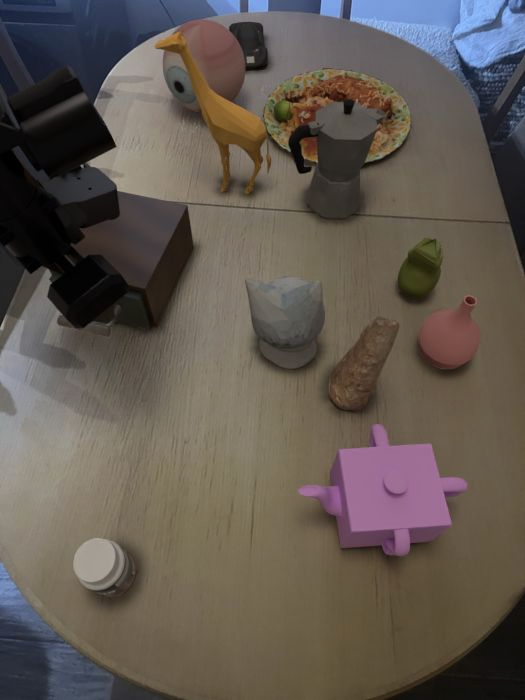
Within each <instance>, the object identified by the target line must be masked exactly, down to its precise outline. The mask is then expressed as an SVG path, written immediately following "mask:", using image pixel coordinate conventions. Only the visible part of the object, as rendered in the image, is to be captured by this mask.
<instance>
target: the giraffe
mask: <svg viewBox="0 0 525 700" xmlns="http://www.w3.org/2000/svg"><path fill="white" fill-rule="evenodd" d="M182 32H183V29H182V30H181V31H180V32H177V33H176V34H173V33H172V34H173V35H172V34H171V35H169V36H167V37H166V38H164V39H161V40H158V41H157V42H156V43H155V44H154V48H155V49H156V50H161V51H162V50H163V51H164V50H166V51H170V52H174V53H178V54H180V56H181V58H182V60H183V62H184V65H185V67H186V69H187V72H188V75H189V78H190V81H191V84H192V87H193V90H194V93H195V95H196V97H197V99H198V102H199V104H200V107H201V111H202V113H201V115H202V118H203V120H204V121H205V123H206V126H207V128H208V130H209V132H210V135H211V137H212V139H213V140H214V141H215V143H216V145H217V146H218V150H219V154H220V161H221V162H220V163H221V165H222V187H221V189H220V190H219V191H220V192H222V193H225V192H226V191H227V187H228V185H229V183H230V179H231V176H232V175H231V169H230V167H231V166H230V155H231V153H230V145H235V146H238V147H239V148H240V149H242V150H243V151H244V152H245V153H246V154H247V156H248V157H249V158H250V160H251V161H252V162H253V164H254V169H253V174H252V176H251V178H250V179H249V180H248V182H247V183H246V184H245V187H246V188H245V189H244V191H243V194H244V195H250V192H253V186H254V184H255V183H256V178H257V176H258V174H259V173H260V171H261V169H262V164H263V162H264V157H263V156H262V151H261V148H262V146H263V145H264V144H265V141H266V155H265V160H266V164H267V165H266V168H267V169H266V171H267V173H266V174H267V175H269V173H270V169H271V166H272V157H271V155H270V154H269V153H270V148H269V147H270V145H269V137H268V136H269V135H268V133H267V129H266V126H265V123H264V121H263V120H262V119H261V118H260V117H259V116H257V115H255V114H254V113H252V112H251V111H249V110H247V109H245V108H243V107H241V106H240V105H238V104H235V103H234V102H230V101H228V100H226V99H224V98H223V97H221V96H219V95H217V94H216V93H215V92H214V91H213V90H212V89H210V87H209V86H208V84H207V82H206V81H205V79H204V77H203V76H202V74H201V72H200V71H199V69H198V67H197V65H196V63H195V61H194V59H193V57H192V55H191V53H190V51H189V49H188V46H187V40H186V39H185V38H184V37H183V33H182Z"/></svg>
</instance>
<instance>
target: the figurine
mask: <svg viewBox="0 0 525 700" xmlns="http://www.w3.org/2000/svg"><path fill="white" fill-rule="evenodd" d="M244 283H245V289H246V293H247V299H248V305H249V312H250V320H251V325H252V329H253V332H254V334H255V335H256V336H257V337H258V338H259V342H258V347H259V348H258V349H259V350H260V352H261V354H262V356H263V357H264V359H266V360H267V361H270V363H273V364H274V365H275V366H277V367H279V368H281V369H286V370H287V369H288V370H296V369H299V368H301V367H304V366H306V365H309V364H310V363H312V361H313V360H314V359H315V357H316V354H317V351H318V344H317V341H316V339H317V338H318V337H319V335H320V334H321V332H322V331H323V329H324V327H325V323H326V305H325V302H324V299H323V297H324V295H323V294H324V293H323V291H324V290H323V283H322V280H320V279H318V280H316V281H314V282H310V281H308V280H305V279H304V278H301V277H299V276H298V277H297V276H292V275H290V276H289V275H288V276H287V275H286V276H281V277H280V276H279V277H276V278H274V279H273V280H271V281H269V282H268V283H265V282H261V281H259V280H255V279H253V278H251V277H246V278H245V279H244Z"/></svg>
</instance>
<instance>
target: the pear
mask: <svg viewBox="0 0 525 700" xmlns="http://www.w3.org/2000/svg"><path fill="white" fill-rule="evenodd" d="M443 259H444V252H443V248H442V243H441V242H440V241H439V240H437V238H433V239H432V238H431V237H424V238H423V239H422V240H421V241H420V242H418V243H416V244H415V245H414V246H413V248H411V249H410V250H408V252H407V257H406V258H405V259H404V260H403V262H402V263H401V266H400V268H399V271H398V274H397V285H398V289H399V290H400V292H401V293H403V295H405V296H407V297H409V298H411V299H421V298H425V297H426V296H428V295H429V294H431V292H432V291H433V290H434V289H435V288H436V287H437V285H438V283H439V281H440V278H441V272H442V270H441V266H442V263H443Z"/></svg>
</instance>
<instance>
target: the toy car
mask: <svg viewBox="0 0 525 700" xmlns="http://www.w3.org/2000/svg"><path fill="white" fill-rule="evenodd" d="M228 30H229V31H230V32H231V33H232V34H233V35H234V36H235V38H236V39H237V41H238V42H239V44H240V46H241V49H242V51H243V55H244V59H245V72H246V71H249V70H254V71H260V70H264V69H266V68H267V67H268V63H269V62H268V60H269V59H268V58H269V57H268V56H269V55H268V48H267V47H266V46H265V45H266V44H265V40H264V25H263V24H262V23H260V22H257V21H239V22H234V23H231V24H229V26H228Z"/></svg>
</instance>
